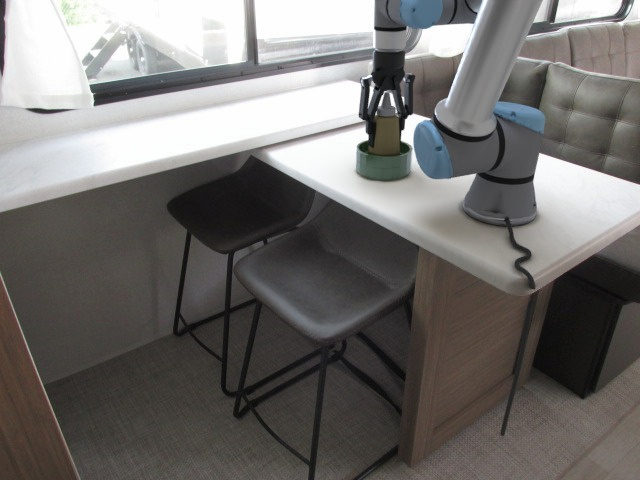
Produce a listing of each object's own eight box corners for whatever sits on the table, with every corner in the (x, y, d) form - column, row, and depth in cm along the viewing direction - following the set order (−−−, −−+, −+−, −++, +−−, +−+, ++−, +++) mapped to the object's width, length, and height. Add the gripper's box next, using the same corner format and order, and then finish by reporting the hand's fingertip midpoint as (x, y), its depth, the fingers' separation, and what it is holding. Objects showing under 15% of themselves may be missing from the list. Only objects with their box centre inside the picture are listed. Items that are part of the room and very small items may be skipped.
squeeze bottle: (400, 158, 135) (405, 89, 126) (397, 169, 128) (401, 97, 119) (370, 156, 137) (373, 88, 128) (365, 167, 130) (367, 95, 121)
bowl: (420, 177, 130) (422, 153, 127) (369, 185, 126) (369, 160, 123) (395, 158, 142) (396, 136, 138) (347, 165, 138) (348, 142, 135)
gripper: (418, 44, 125) (411, 135, 136) (344, 49, 119) (343, 144, 131) (434, 48, 118) (425, 144, 130) (356, 54, 113) (354, 154, 124)
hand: (384, 144), depth 130 cm, fingers closed on squeeze bottle, 6 cm apart
